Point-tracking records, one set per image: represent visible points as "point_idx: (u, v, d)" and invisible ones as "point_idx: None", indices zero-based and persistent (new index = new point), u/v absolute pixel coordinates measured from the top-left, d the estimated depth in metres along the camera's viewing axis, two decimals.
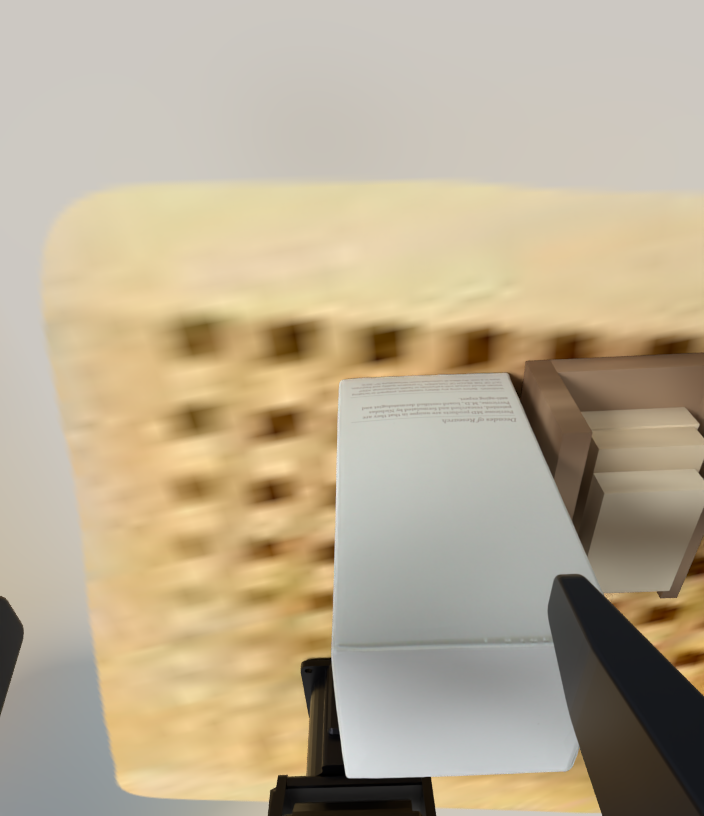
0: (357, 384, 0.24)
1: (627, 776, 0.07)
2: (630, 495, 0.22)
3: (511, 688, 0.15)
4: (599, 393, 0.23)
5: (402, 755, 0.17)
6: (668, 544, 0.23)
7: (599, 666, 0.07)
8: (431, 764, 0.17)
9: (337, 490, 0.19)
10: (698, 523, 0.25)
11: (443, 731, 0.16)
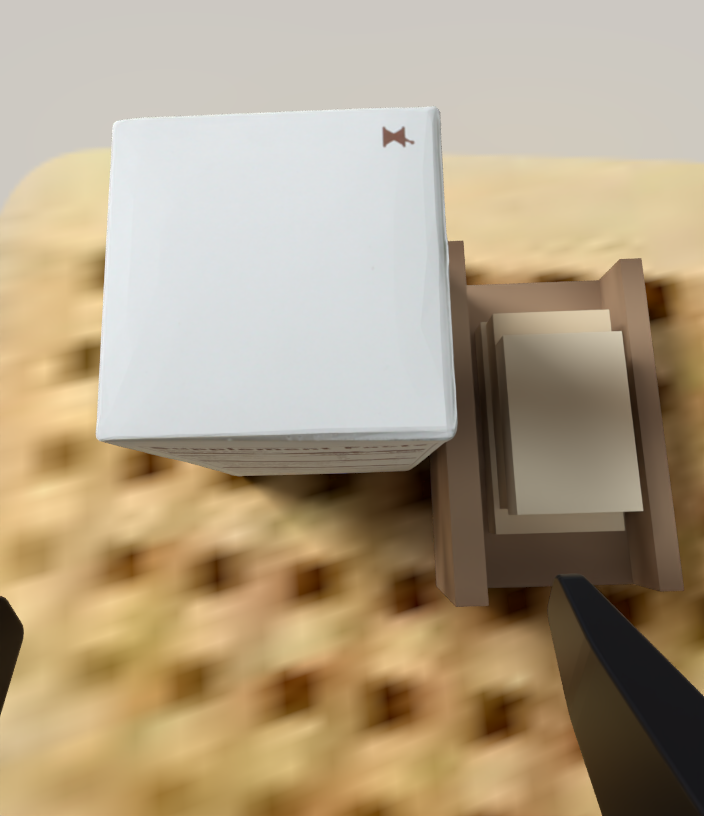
0: None
1: (627, 776, 0.07)
2: (533, 339, 0.19)
3: (323, 183, 0.12)
4: (495, 310, 0.23)
5: (184, 353, 0.11)
6: (606, 418, 0.19)
7: (599, 666, 0.07)
8: (229, 386, 0.11)
9: None
10: (652, 439, 0.20)
11: (242, 284, 0.11)
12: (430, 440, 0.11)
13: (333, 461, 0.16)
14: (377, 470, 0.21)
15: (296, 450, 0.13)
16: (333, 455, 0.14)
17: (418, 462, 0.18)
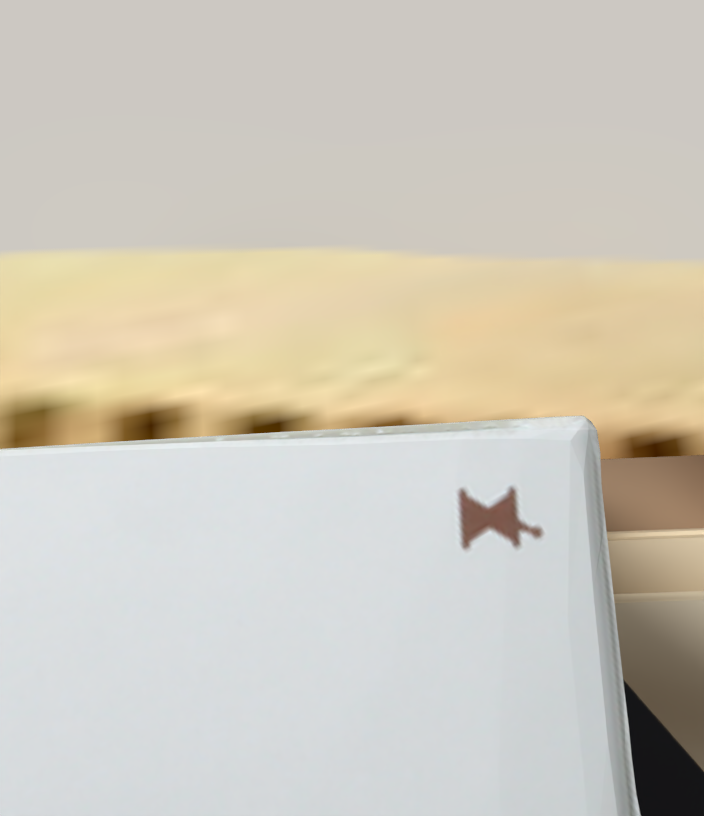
0: None
1: None
2: (659, 609, 0.12)
3: (307, 658, 0.04)
4: None
5: None
6: None
7: None
8: None
9: None
10: None
11: None
12: None
13: None
14: None
15: None
16: None
17: None
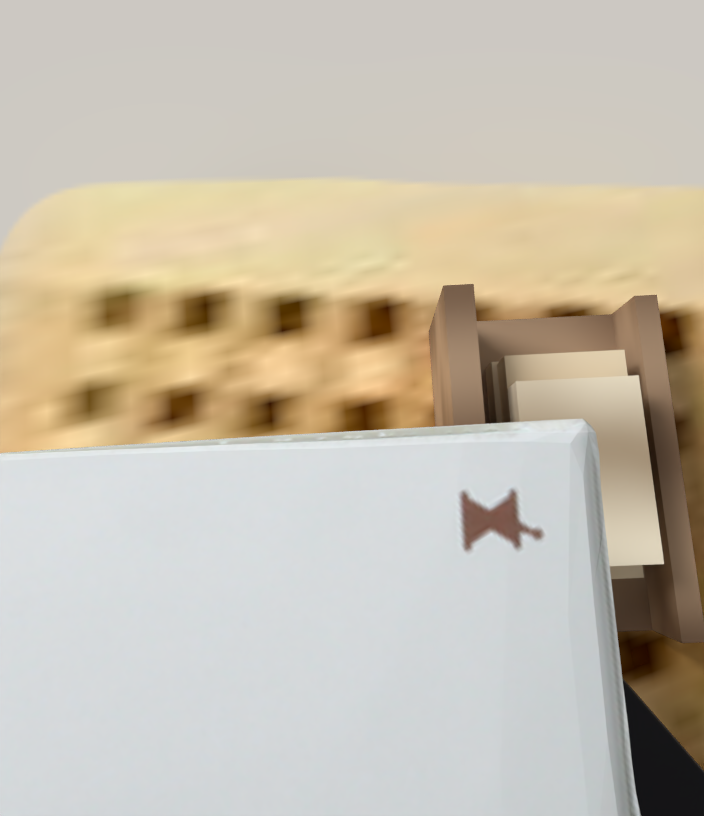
0: None
1: None
2: (547, 385, 0.19)
3: (312, 658, 0.05)
4: (505, 347, 0.23)
5: None
6: (624, 467, 0.18)
7: None
8: None
9: None
10: (670, 484, 0.20)
11: None
12: None
13: None
14: None
15: None
16: None
17: None
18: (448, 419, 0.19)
